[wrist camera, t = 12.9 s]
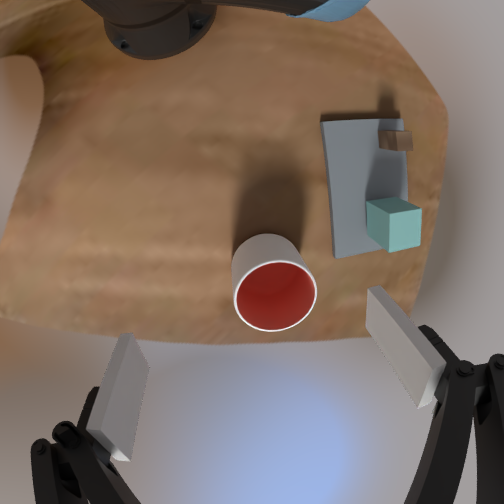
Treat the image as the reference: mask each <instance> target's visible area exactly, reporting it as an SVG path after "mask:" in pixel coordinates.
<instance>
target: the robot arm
mask: <svg viewBox="0 0 504 504" xmlns="http://www.w3.org/2000/svg"><path fill="white" fill-rule="evenodd" d="M82 1H83V2H84V3H85V4H87V5H88V6H89V7H91V8H92V9H93V10H94V11H96V12H97V13H98V14H99V15H100V16H102V17H103V20H104V27H105V31H106V34H107V36H108V38H109V40H110V41H111V43H112V44H113V45H114V46H115V47H116V48H118V49H119V50H120V51H122V52H123V53H125V54H126V55H128V56H131V57H134V58H137V59H144V60H156V59H163V58H167V57H171V56H174V55H176V54H179V53H181V52H183V51H185V50H187V49H188V48H190V47H192V46H193V45H194V44H196V43H197V42H198V41H199V40H200V39H201V38H202V37H203V36H204V35H205V34H206V33H207V32H208V30H209V29H210V27H211V25H212V23H213V21H214V18H215V15H216V5H226V6H237V7H246V8H254V9H261V10H268V11H274V12H280V13H285V14H286V15H287V16H290V17H295V18H298V17H305V18H310V19H315V20H320V21H324V22H334V21H340V20H344V19H347V18H349V17H351V16H352V15H354V14H356V13H357V12H358V11H360V10H361V9H362V8H363V7H364V6H365V5H366V4H367V3H368V2H369V1H370V0H82ZM366 328H367V330H368V331H369V333H370V334H371V336H372V337H373V339H374V340H375V342H376V343H377V345H378V347H379V348H380V350H381V351H382V353H383V354H384V356H385V357H386V359H387V361H388V362H389V364H390V365H391V367H392V368H393V370H394V372H395V373H396V375H397V376H398V378H399V380H400V381H401V383H402V384H403V386H404V387H405V389H406V391H407V392H408V394H409V396H410V398H411V399H412V401H413V402H414V404H415V405H416V407H417V408H420V407H422V406H425V405H427V404H429V403H430V402H431V401H432V398H433V396H435V397H436V398H437V400H438V401H437V403H436V405H435V407H434V409H433V411H432V413H433V414H434V415H433V419H432V423H431V427H430V431H429V434H428V438H427V441H426V444H425V448H424V451H423V454H422V457H421V460H420V463H419V466H418V469H417V472H416V475H415V477H414V480H413V483H412V485H411V488H410V491H409V493H408V495H407V498H406V500H405V502H404V504H453V502H454V499H455V496H456V493H457V490H458V486H459V483H460V479H461V475H462V471H463V467H464V463H465V458H466V454H467V449H468V444H469V438H470V433H471V426H472V419H473V417H474V427H475V438H476V454H477V501H476V504H504V355H503V354H495V355H493V356H491V357H490V360H489V362H488V363H485V364H480V365H473V364H472V363H471V362H469V361H465V360H461V361H460V360H459V359H458V357H457V356H456V355H455V354H454V353H453V351H452V350H451V349H450V348H449V347H448V346H447V345H446V343H445V342H443V340H442V339H441V338H440V337H439V335H438V334H437V333H436V332H435V331H434V330H433V329H432V328H430V327H428V326H426V325H422V326H419V327H417V326H416V325H415V324H414V323H413V322H412V321H411V319H410V318H409V317H408V316H407V315H406V314H405V313H404V311H403V310H402V309H401V308H400V307H399V306H398V305H397V304H396V302H395V301H394V300H393V299H392V298H391V297H390V296H389V295H388V294H387V292H386V291H385V290H384V289H383V288H382V287H381V286H380V285H378V286H374V287H371V288H368V295H367V313H366ZM149 368H150V367H149V365H148V363H147V361H146V359H145V357H144V356H143V353H142V352H141V350H140V347H139V345H138V344H137V341H136V339H135V337H134V335H133V333H124V334H120V337H119V339H118V342H117V344H116V346H115V349H114V352H113V354H112V357H111V359H110V362H109V364H108V367H107V369H106V372H105V375H104V377H103V380H102V383H101V386H100V387H94V388H93V389H92V390H91V391H90V392H89V394H88V396H87V399H86V403H85V404H84V407H83V410H82V412H81V416H80V418H79V421H78V424H77V427H75V426H74V424H73V423H72V422H70V421H63V422H60V423H59V424H57V425H56V426H55V428H54V429H53V432H52V438H53V439H54V440H55V441H56V442H57V443H55V444H51V443H50V442H49V441H47V440H46V439H44V438H42V439H38V440H36V441H35V442H34V443H33V445H32V446H31V465H32V477H33V486H34V494H35V501H36V504H89V503H88V500H89V502H90V504H141V503H140V502H139V500H138V499H137V498H136V497H135V495H134V494H133V493H132V491H131V490H130V489H129V487H128V486H127V484H126V483H125V482H124V480H123V479H122V477H121V476H120V474H119V473H118V471H117V470H116V468H115V467H114V465H113V463H112V462H111V461H110V456H111V455H112V456H113V457H114V458H115V459H116V460H120V461H131V457H132V451H133V445H134V440H135V434H136V429H137V424H138V419H139V413H140V409H141V404H142V399H143V395H144V390H145V386H146V381H147V377H148V372H149ZM87 499H88V500H87Z"/></svg>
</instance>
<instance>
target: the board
mask: <svg viewBox="0 0 504 504" xmlns="http://www.w3.org/2000/svg"><path fill="white" fill-rule="evenodd" d="M320 126H321V133H322V141H323V148H324V157H325V165H326V174H327V184H328V194H329V205H330V218H331V232H332V248H333V256H334V258H335V259H338V258H342V257H347V256H352V255H357V254H361V253H366V252H370V251H375V250H380V249H384V248H383V247H381V246H380V245H379V244H378V243H376V242H375V241H374V240H373V239H371V238H370V237H369V236H368V235H367V206H366V201H371V200H377V199H384V198H391V197H398V198H400V199H402V200H404V201H407V202H408V190H407V162H406V151H392V150H386V149H380V148H379V141H378V131H379V130H400V131H404V125H403V119H361V120H342V121H327V122H320Z"/></svg>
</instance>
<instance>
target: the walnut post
mask: <svg viewBox="0 0 504 504" xmlns="http://www.w3.org/2000/svg"><path fill="white" fill-rule="evenodd" d="M378 141H379V148H380V149H386V150H392V151H413V142H412V131H400V130H379V131H378Z"/></svg>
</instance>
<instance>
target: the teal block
mask: <svg viewBox="0 0 504 504" xmlns="http://www.w3.org/2000/svg"><path fill="white" fill-rule="evenodd" d="M366 206H367V235H368V236H369V237H370V238H371V239H373V240H374V241H375V242H376V243H378V244H379V245H380V246H381V247H383V248H384V249H385V250H386V251H388V252H389V253H390V252H394V251H399V250H403V249H407V248H411V247H416V246H420V238H421V216H422V209H421V208H419V207H417V206H415V205H413V204H411V203H409V202H407V201H404V200H402V199H400V198H398V197H391V198H384V199H377V200H371V201H366Z"/></svg>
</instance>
